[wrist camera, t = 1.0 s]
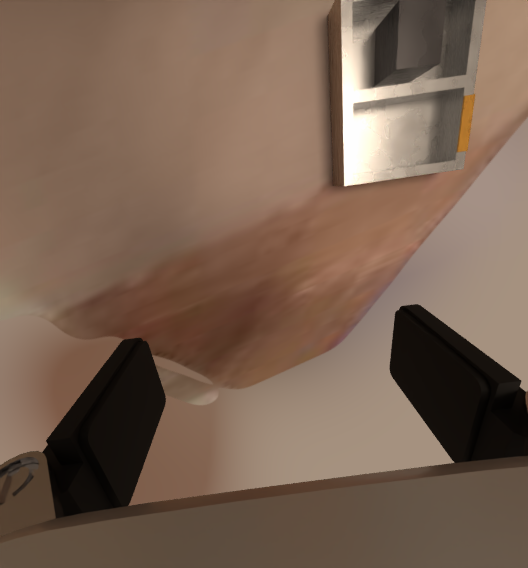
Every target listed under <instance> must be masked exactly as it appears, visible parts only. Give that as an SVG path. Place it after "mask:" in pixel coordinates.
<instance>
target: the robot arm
mask: <svg viewBox="0 0 528 568" xmlns="http://www.w3.org/2000/svg"><path fill="white" fill-rule="evenodd" d="M390 373H391V375H392V377H393V379H394V380H395V381H396V383H397V384H398V386H399V387H400V388H401V390H402V391H403V393H404V394H405V395H406V397H407V398H408V400H409V401H410V402H411V404H412V405H413V406H414V408H415V409H416V410H417V412H418V413H419V415H420V416H421V417H422V419H423V420H424V421H425V423H426V424H427V426H428V427H429V429H430V430H431V431H432V433H433V434H434V435H435V437H436V438H437V440H438V441H439V442H440V444H441V445H442V446H443V448H444V449H445V451H446V452H447V453H448V455H449V456H450V457H451V459H452V460H453V461H454V462H455V463H451V464H444V465H435V466H427V467H419V468H411V469H404V470H395V471H387V472H379V473H371V474H362V475H355V476H347V477H340V478H332V479H324V480H316V481H309V482H301V483H293V484H285V485H278V486H270V487H262V488H255V489H247V490H240V491H233V492H225V493H218V494H210V495H203V496H197V497H188V498H181V499H174V500H166V501H159V502H152V503H145V504H138V505H132V506H128V505H129V503H130V501H131V498H132V496H133V493H134V490H135V487H136V484H137V482H138V478H139V476H140V473H141V471H142V468H143V465H144V462H145V459H146V457H147V454H148V451H149V448H150V446H151V443H152V440H153V437H154V434H155V432H156V428H157V426H158V423H159V421H160V418H161V415H162V412H163V409H164V407H165V402H166V398H165V393H164V390H163V387H162V384H161V381H160V378H159V375H158V372H157V369H156V366H155V363H154V360H153V357H152V354H151V351H150V348H149V345H148V343H147V341H143V340H142V339H141V338H134V339H125V340H123V341H122V342H121V343H120V345H119V346H118V347H117V348H116V350H115V351H114V352H113V354H112V355H111V356H110V357H109V359H108V360H107V361H106V363H105V364H104V365H103V367H102V368H101V369H100V371H99V372H98V373H97V375H96V376H95V377H94V379H93V380H92V381H91V382H90V384H89V385H88V386H87V388H86V389H85V390H84V392H83V393H82V394H81V395H80V397H79V398H78V399H77V401H76V402H75V404H74V405H73V406H72V407H71V409H70V410H69V411H68V413H67V414H66V415H65V416H64V418H63V419H62V420H61V422H60V423H59V424H58V426H57V427H56V428H55V430H54V431H53V432H52V433H51V435H50V436H49V437H48V439H47V440H46V442H47V443H48V445H47V447H46V448H45V449H44V451H43V452H39V451H31V452H27V453H23V454H20V455H18V456H16V457H14V458H12V459H10V460H8V461H6V462H5V463H3V464H2V465H0V568H528V391H527V392H525V391H524V390H523V389H521V388H520V387H519V386H520V384H521V380H519V379H518V378H517V377H516V376H514V375H513V374H512V373H510V372H509V371H508V370H506V369H505V368H503V367H502V366H501V365H500V364H498V363H497V362H495V361H494V360H493V359H491V358H490V357H489V356H487V355H486V354H485V353H483V352H482V351H480V350H479V349H478V348H477V347H475V346H474V345H473V344H471V343H470V342H469V341H467V340H466V339H464V338H463V337H462V336H461V335H459V334H458V333H457V332H455V331H454V330H452V329H451V328H450V327H448V326H447V325H446V324H444V323H443V322H442V321H440V320H439V319H438V318H436V317H435V316H434V315H432V314H431V313H430V312H428V311H427V310H426V309H424V308H423V307H422V306H420V305H418V304H415V305H407V306H401V307H400V309H399V310H398V311H396V313H395V321H394V330H393V340H392V349H391V359H390Z"/></svg>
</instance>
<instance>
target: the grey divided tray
mask: <svg viewBox="0 0 528 568" xmlns="http://www.w3.org/2000/svg"><path fill="white" fill-rule="evenodd" d="M485 8H486V0H335V1H334V3H333V5H332V8H331V10H330V12H329V14H328V43H329V72H330V102H331V132H332V162H333V186H349V185H356V184H363V183H370V182H377V181H384V180H391V179H398V178H404V177H411V176H418V175H425V174H432V173H439V172H446V171H453V170H460V169H463V168H464V161H465V154H466V151H467V150H468V142H469V135H470V128H471V121H472V114H473V106H474V99H475V94H474V88H475V81H476V73H477V66H478V59H479V51H480V44H481V37H482V30H483V22H484V15H485Z"/></svg>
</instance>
